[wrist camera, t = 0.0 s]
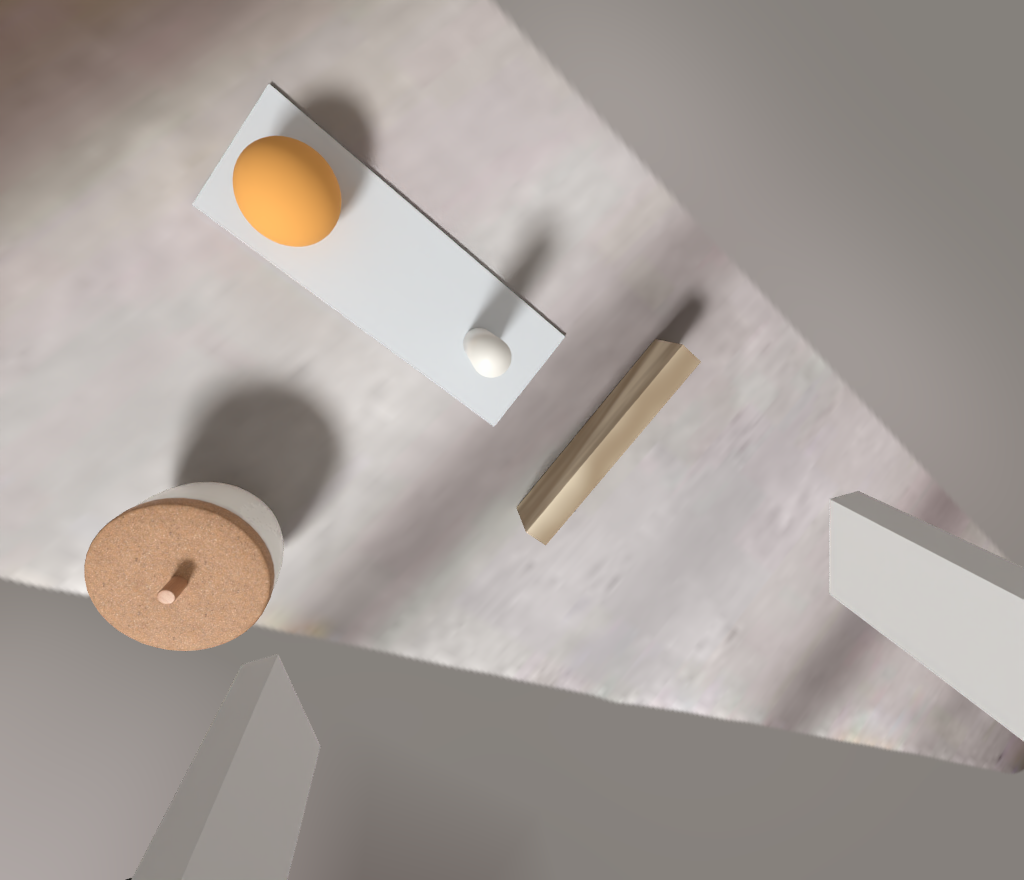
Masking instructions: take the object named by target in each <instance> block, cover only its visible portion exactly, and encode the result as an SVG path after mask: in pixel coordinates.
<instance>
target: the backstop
mask: <svg viewBox="0 0 1024 880" xmlns="http://www.w3.org/2000/svg"><path fill="white" fill-rule="evenodd" d="M700 362H701V361H700V360H698V359H697V358H696V357H695V356H694V355H693V354H692V353H691V352H690V351H689V350H688V349H687V348H686V347H685V346H684V345H682V344H677V343H672V342H667V341H662V340H657V339H655V340H654V341H653V342H652V344H651V345H650V346H649V347H648V349H647V350H646V351H645V352H644V353H643V355H642V356H641V357H640V358H639V359H638V361H637V362H636V363H635V364H634V366H633V367H632V368H631V369H630V370H629V372H628V373H627V374H626V375H625V376H624V378H623V379H622V380H621V381H620V383H619V384H618V385H617V386H616V387H615V389H614V390H613V391H612V392H611V393H610V395H609V396H608V397H607V398H606V400H605V401H604V402H603V403H602V404H601V406H600V407H599V408H598V409H597V410H596V412H595V413H594V414H593V415H592V417H591V418H590V419H589V420H588V421H587V423H586V424H585V425H584V426H583V427H582V429H581V430H580V431H579V432H578V434H577V435H576V436H575V437H574V438H573V440H572V441H571V442H570V443H569V445H568V446H567V447H566V448H565V449H564V451H563V452H562V453H561V454H560V455H559V457H558V458H557V459H556V460H555V462H554V463H553V464H552V465H551V466H550V468H549V469H548V470H547V471H546V472H545V474H544V475H543V476H542V477H541V479H540V480H539V481H538V482H537V483H536V485H535V486H534V487H533V488H532V489H531V491H530V492H529V493H528V494H527V496H526V497H525V498H524V499H523V500H522V502H521V503H520V504H519V505H518V506H517V510H518V513H519V515H520V518H521V520H522V523H523V525H524V528H525V531H526V533H528V534H529V535H531V536H532V537H534V538H535V539H537V540H538V541H540V542H541V543H543V544H544V545H546V544H547V543H548V542H549V541H550V540H551V539H552V537H553V536H554V535H555V534H556V533H557V531H558V530H559V529H560V528H561V527H562V526H563V524H564V523H565V522H566V521H567V520H568V518H569V517H570V516H571V515H572V514H573V512H574V511H575V510H576V509H577V508H578V507H579V505H580V504H581V503H582V502H583V501H584V499H585V498H586V497H587V496H588V495H589V494H590V492H591V491H592V490H593V489H594V488H595V486H596V485H597V484H598V483H599V482H600V481H601V479H602V478H603V477H604V476H605V475H606V473H607V472H608V471H609V470H610V469H611V468H612V466H613V465H614V464H615V463H616V462H617V460H618V459H619V458H620V457H621V456H622V455H623V453H624V452H625V451H626V450H627V449H628V447H629V446H630V445H631V444H632V443H633V442H634V440H635V439H636V438H637V437H638V436H639V434H640V433H641V432H642V431H643V430H644V429H645V427H646V426H647V425H648V424H649V423H650V421H651V420H652V419H653V418H654V417H655V416H656V414H657V413H658V412H659V411H660V410H661V408H662V407H663V406H664V405H665V404H666V403H667V401H668V400H669V399H670V398H671V397H672V395H673V394H674V393H675V392H676V391H677V390H678V388H679V387H680V386H681V385H682V384H683V382H684V381H685V380H686V379H687V378H688V377H689V375H690V374H691V373H692V372H693V371H694V369H695V368H696V367H697V366H698V365H699V363H700Z"/></svg>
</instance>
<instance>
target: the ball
mask: <svg viewBox="0 0 1024 880" xmlns="http://www.w3.org/2000/svg"><path fill="white" fill-rule="evenodd" d="M233 190H234V195H235V199H236V202H237V204H238V206H239V209H240V210H241V212H242V214H243V215H244V217H245V218H246V220H247V221H248V222H249V223H250V224H251V225H252V227H253V228H254V229H256V230H257V231H258V232H259V233H260V234H262V235H263V236H265V237H266V238H268V239H270V240H272V241H274V242H276V243H279V244H282V245H286V246H293V247H303V246H309V245H312V244H315V243H317V242H319V241H321V240H323V239H324V238H325V237H326V236H328V235H329V234H330V233H331V231H332V230H333V229H334V227H335V226H336V224H337V221H338V219H339V216H340V212H341V191H340V187H339V184H338V181H337V178H336V176H335V174H334V172H333V170H332V169H331V167H330V165H329V164H328V163H327V161H326V160H325V159H324V158H323V157H322V156H321V155H320V154H319V153H318V152H317V151H316V150H314V149H313V148H312V147H310V146H309V145H307V144H305V143H304V142H301V141H299V140H297V139H293V138H290V137H285V136H268V137H264V138H260V139H258V140H256V141H254V142H252V143H251V144H249V145H248V146H247V147H246V148H245V149H244V150H243V151H242V152H241V154H240V155H239V157H238V159H237V161H236V164H235V166H234V171H233Z"/></svg>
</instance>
